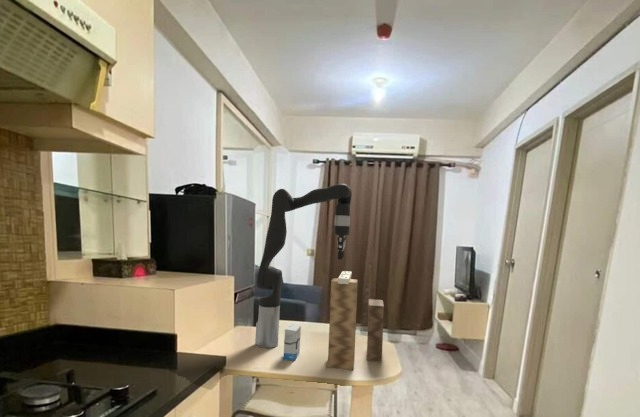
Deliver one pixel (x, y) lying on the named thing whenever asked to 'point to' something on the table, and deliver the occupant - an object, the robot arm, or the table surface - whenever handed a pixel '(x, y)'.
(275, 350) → the table surface
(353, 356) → the oak post
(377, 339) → the walnut post
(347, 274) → the long ivory domino tile
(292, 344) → the ink box
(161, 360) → the table surface
